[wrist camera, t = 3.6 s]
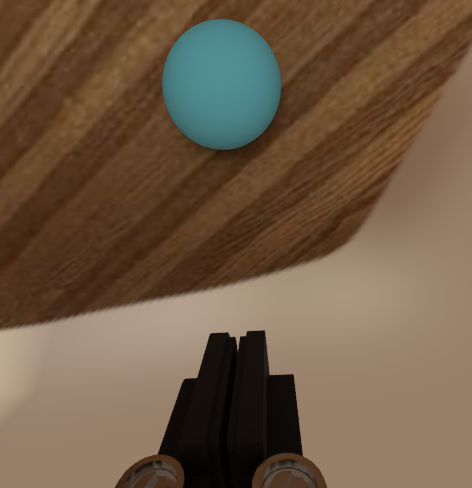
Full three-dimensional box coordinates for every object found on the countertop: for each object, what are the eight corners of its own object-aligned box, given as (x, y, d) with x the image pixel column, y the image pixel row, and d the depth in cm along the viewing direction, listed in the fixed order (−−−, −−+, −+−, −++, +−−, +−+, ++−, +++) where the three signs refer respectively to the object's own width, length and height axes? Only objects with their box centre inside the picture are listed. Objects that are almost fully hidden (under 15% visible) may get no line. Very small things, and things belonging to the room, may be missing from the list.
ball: (186, 153, 21) (160, 160, 16) (169, 46, 20) (133, 10, 14) (281, 141, 21) (290, 144, 15) (273, 30, 19) (279, -14, 13)
